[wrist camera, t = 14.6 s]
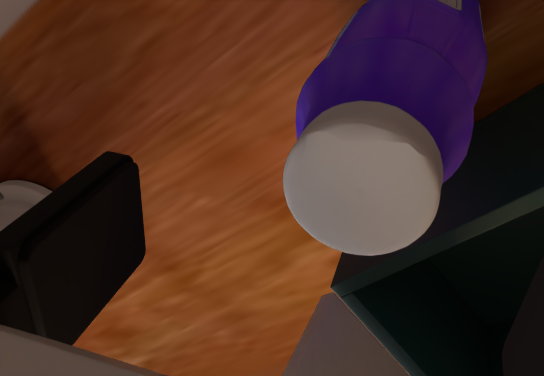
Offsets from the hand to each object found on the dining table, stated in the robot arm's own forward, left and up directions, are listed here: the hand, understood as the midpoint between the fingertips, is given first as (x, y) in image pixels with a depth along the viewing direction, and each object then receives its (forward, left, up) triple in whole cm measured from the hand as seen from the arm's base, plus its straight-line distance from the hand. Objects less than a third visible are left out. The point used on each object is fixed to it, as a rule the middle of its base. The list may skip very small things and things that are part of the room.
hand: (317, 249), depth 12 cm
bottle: (0, 0, -20) cm, 20 cm away
